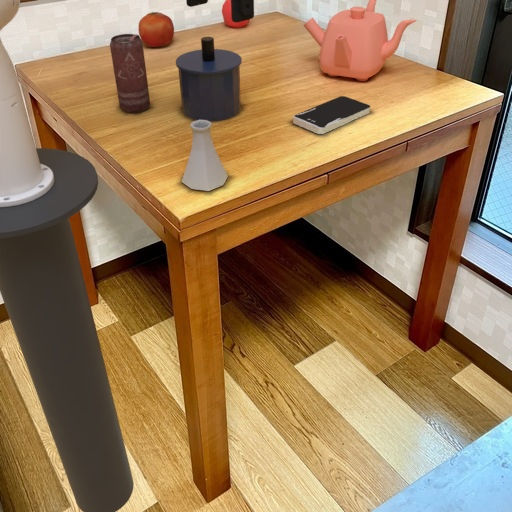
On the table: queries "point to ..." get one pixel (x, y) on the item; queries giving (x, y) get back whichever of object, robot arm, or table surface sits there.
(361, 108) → the smartphone
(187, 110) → the pot
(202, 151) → the flask
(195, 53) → the pot lid
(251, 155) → the table surface
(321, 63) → the teapot
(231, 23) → the apple
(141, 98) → the can
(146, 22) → the tomato
